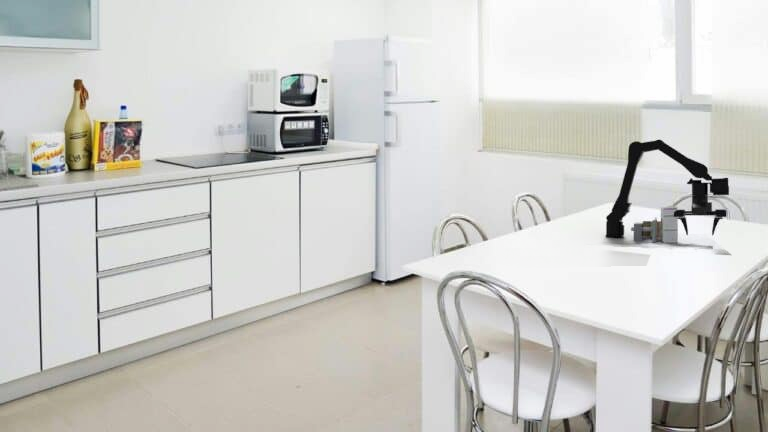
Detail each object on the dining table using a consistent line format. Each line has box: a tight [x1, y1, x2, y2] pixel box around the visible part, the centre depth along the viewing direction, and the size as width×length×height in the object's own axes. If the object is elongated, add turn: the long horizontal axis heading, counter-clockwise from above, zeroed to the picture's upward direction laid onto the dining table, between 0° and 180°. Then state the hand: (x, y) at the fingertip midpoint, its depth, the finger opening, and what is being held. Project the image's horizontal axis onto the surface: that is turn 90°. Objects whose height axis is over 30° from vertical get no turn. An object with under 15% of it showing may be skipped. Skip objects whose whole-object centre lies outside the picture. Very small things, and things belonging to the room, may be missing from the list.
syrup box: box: [660, 205, 679, 244], centre depth 269 cm, size 6×6×14 cm
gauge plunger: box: [630, 216, 658, 243], centre depth 276 cm, size 10×13×9 cm
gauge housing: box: [633, 220, 661, 242], centre depth 274 cm, size 10×11×8 cm
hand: (699, 235), depth 265 cm, fingers open, 9 cm apart
